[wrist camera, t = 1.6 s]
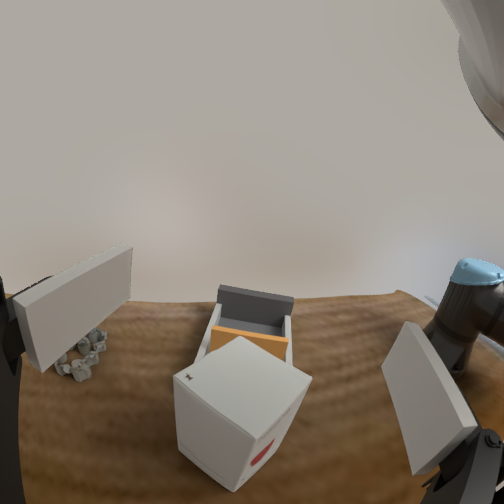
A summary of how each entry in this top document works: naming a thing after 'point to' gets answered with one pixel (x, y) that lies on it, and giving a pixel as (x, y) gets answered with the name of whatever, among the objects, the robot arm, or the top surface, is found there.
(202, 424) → the supplement box
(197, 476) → the top surface
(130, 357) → the top surface
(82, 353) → the egg carton
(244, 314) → the tray
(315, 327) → the top surface
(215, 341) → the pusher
